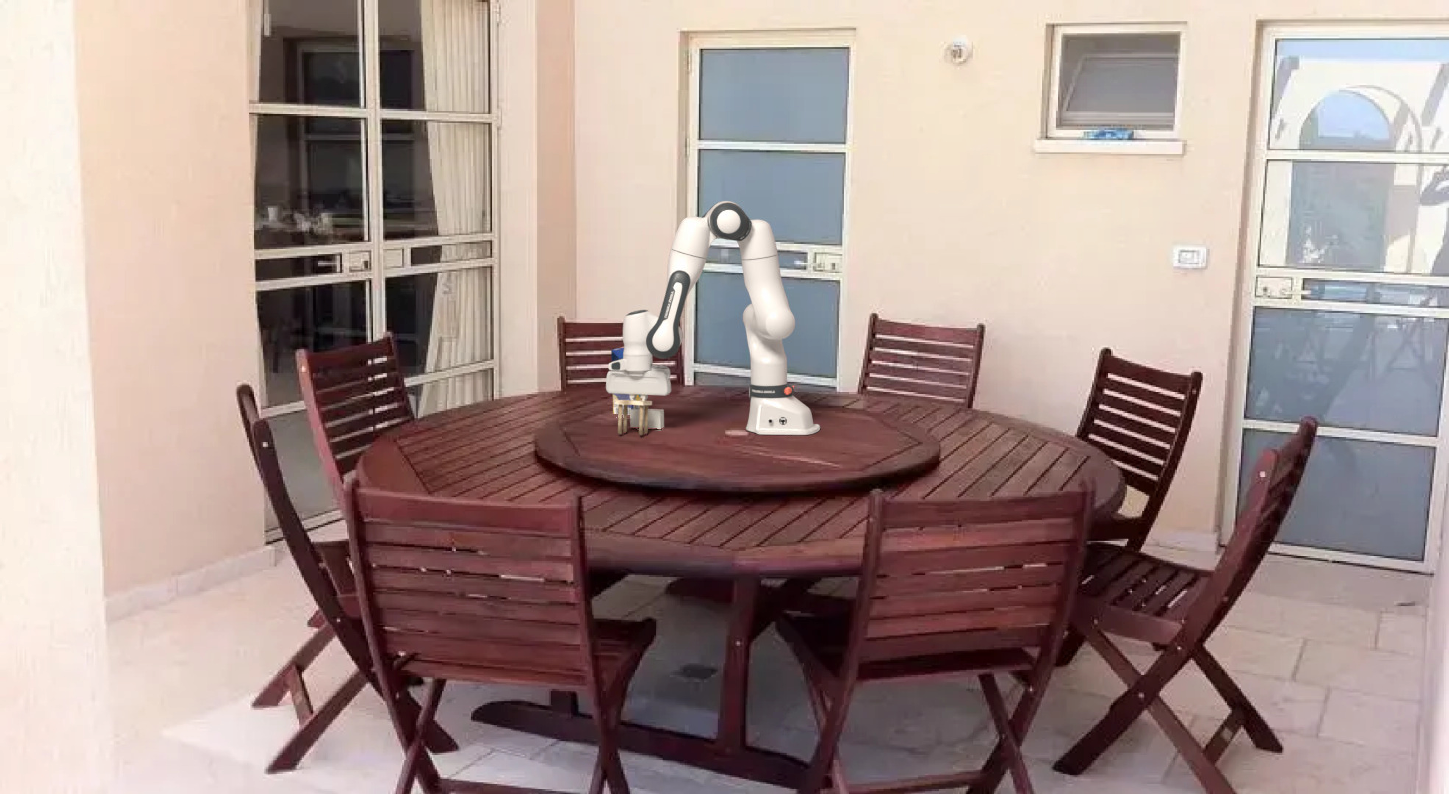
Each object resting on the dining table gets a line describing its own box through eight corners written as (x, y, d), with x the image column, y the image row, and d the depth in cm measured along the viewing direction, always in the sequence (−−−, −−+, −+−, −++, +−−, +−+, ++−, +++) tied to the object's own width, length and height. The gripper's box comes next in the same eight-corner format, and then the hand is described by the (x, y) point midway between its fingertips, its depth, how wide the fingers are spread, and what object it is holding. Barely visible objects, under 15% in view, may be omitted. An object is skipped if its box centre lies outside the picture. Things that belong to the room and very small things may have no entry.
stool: (650, 434, 408) (651, 401, 408) (642, 435, 401) (643, 401, 401) (623, 433, 411) (624, 399, 411) (614, 433, 404) (615, 400, 404)
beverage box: (645, 412, 447) (644, 346, 443) (632, 418, 436) (630, 350, 433) (626, 411, 449) (625, 346, 445) (613, 417, 439) (611, 350, 435)
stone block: (664, 428, 417) (663, 409, 416) (660, 430, 414) (660, 411, 413) (634, 427, 420) (633, 408, 419) (630, 428, 417) (629, 409, 416)
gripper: (673, 363, 408) (674, 408, 410) (611, 361, 415) (612, 405, 417) (666, 366, 402) (667, 412, 404) (603, 364, 409) (604, 409, 411)
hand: (639, 408), depth 411 cm, fingers closed
